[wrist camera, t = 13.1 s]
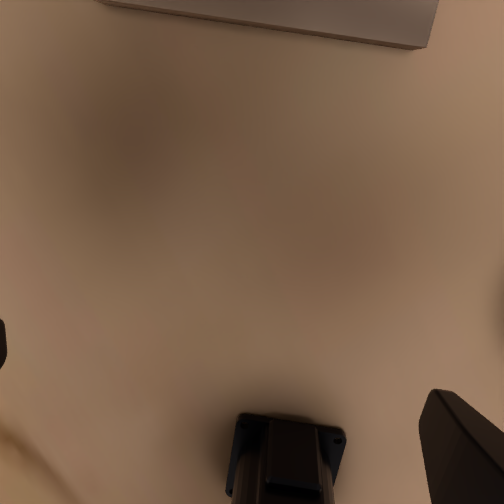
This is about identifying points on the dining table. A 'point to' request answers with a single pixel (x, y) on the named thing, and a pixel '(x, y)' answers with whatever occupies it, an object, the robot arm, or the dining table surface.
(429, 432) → the robot arm
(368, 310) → the dining table surface
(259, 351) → the dining table surface
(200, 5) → the brown wooden tray
